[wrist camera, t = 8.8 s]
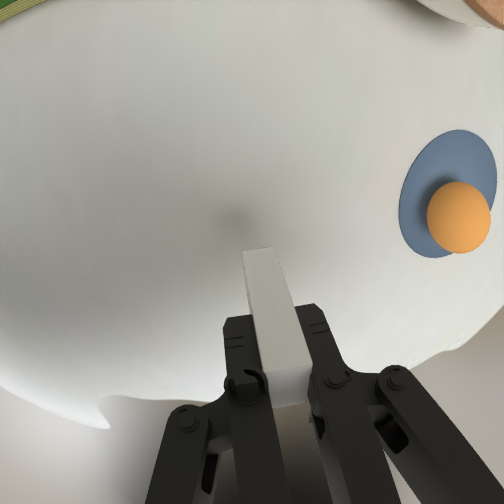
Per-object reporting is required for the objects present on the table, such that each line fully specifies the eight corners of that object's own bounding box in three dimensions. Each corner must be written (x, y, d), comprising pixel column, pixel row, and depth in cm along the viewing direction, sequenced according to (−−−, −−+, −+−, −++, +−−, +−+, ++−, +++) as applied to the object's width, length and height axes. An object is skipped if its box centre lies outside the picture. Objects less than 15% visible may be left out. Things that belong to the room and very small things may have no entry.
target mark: (388, 265, 24) (389, 266, 24) (406, 124, 17) (408, 125, 17) (478, 248, 24) (480, 249, 24) (503, 137, 18) (505, 137, 18)
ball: (408, 238, 22) (456, 276, 17) (419, 174, 19) (477, 206, 14) (446, 225, 23) (489, 256, 19) (457, 168, 20) (508, 195, 16)
